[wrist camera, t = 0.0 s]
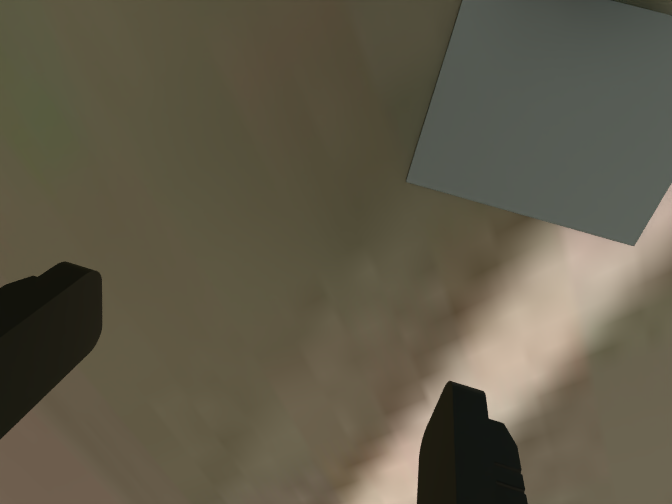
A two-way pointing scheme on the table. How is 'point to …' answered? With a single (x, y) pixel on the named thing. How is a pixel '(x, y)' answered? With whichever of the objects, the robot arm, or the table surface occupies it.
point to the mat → (554, 113)
